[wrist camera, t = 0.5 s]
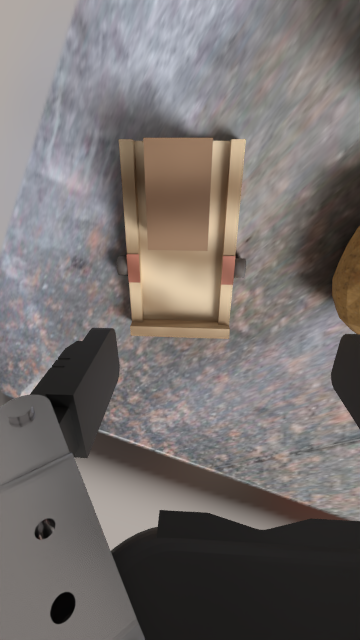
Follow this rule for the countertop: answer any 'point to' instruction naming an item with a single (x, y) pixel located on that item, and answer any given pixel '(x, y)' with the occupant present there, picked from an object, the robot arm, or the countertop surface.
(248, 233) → the countertop surface
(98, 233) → the countertop surface
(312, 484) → the countertop surface
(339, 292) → the potato
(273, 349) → the countertop surface
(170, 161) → the block
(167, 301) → the wooden tray
